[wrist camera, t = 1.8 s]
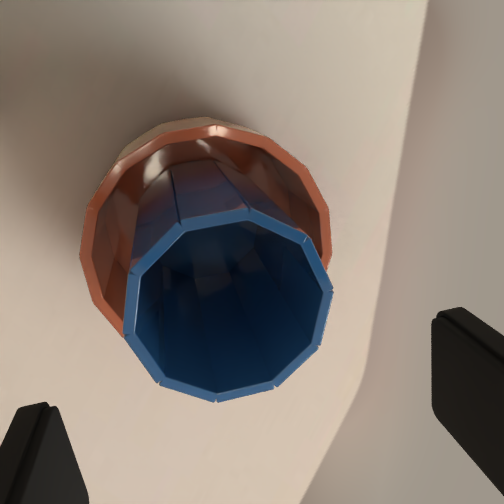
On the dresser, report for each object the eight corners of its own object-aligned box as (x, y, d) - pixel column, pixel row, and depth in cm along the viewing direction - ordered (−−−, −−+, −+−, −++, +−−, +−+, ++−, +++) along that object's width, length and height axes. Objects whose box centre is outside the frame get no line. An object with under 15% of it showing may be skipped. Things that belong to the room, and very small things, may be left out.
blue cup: (122, 172, 24) (95, 235, 13) (256, 149, 24) (326, 193, 14) (150, 290, 26) (146, 420, 16) (271, 265, 27) (340, 373, 17)
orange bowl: (74, 135, 23) (47, 150, 18) (284, 103, 25) (321, 106, 19) (125, 325, 27) (116, 385, 21) (303, 287, 28) (339, 335, 23)
